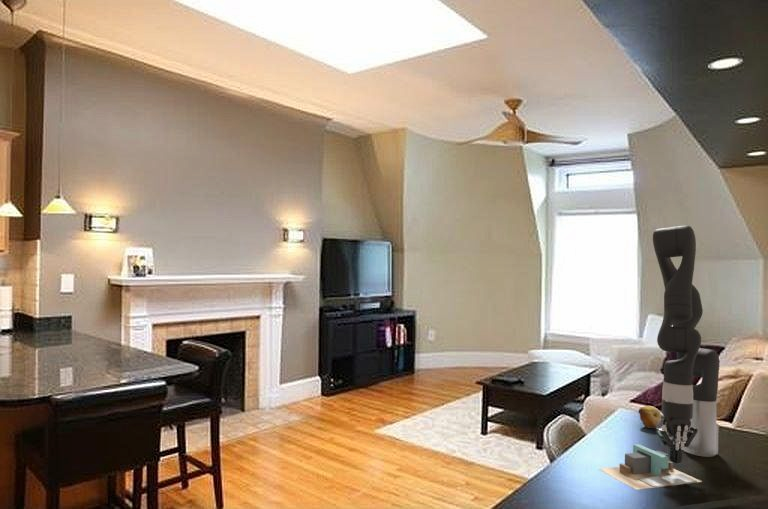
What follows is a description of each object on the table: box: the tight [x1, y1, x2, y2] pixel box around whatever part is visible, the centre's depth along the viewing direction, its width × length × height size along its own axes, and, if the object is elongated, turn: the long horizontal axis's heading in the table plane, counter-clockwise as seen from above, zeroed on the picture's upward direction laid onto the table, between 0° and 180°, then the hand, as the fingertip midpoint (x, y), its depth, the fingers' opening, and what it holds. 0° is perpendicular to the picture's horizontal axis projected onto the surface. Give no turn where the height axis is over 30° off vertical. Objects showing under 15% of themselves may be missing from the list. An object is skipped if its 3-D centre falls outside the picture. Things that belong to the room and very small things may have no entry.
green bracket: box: [632, 443, 670, 476], centre depth 146 cm, size 2×10×6 cm, turn 18°
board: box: [598, 460, 703, 491], centre depth 144 cm, size 22×14×3 cm, turn 108°
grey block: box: [624, 449, 669, 475], centre depth 147 cm, size 12×4×4 cm, turn 108°
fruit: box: [637, 405, 662, 429], centre depth 193 cm, size 8×8×8 cm
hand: (675, 462), depth 144 cm, fingers closed
